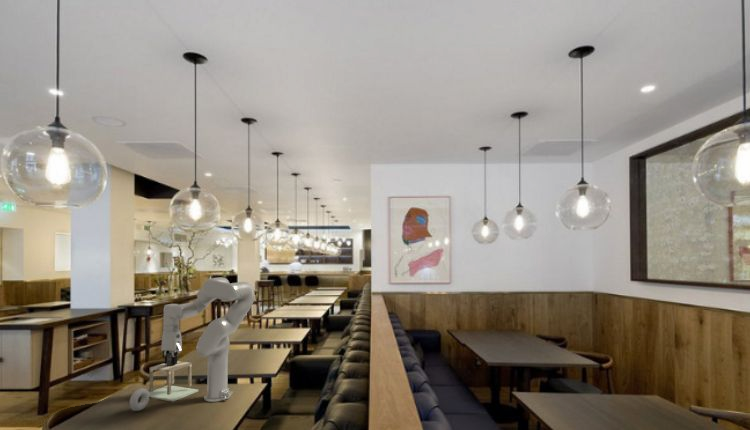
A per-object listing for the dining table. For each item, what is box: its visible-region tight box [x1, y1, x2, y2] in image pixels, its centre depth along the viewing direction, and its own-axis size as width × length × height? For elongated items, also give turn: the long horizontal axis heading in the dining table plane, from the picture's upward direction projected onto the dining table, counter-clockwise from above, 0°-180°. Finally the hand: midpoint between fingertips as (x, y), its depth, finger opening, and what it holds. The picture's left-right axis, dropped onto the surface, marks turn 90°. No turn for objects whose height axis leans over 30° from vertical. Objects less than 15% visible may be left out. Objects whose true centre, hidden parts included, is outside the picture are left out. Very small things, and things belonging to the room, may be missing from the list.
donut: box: [129, 387, 150, 412], centre depth 197 cm, size 10×4×10 cm, turn 162°
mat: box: [148, 385, 199, 403], centre depth 219 cm, size 22×16×1 cm
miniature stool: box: [148, 352, 193, 395], centre depth 220 cm, size 14×14×18 cm
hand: (171, 363), depth 220 cm, fingers closed on miniature stool, 3 cm apart
